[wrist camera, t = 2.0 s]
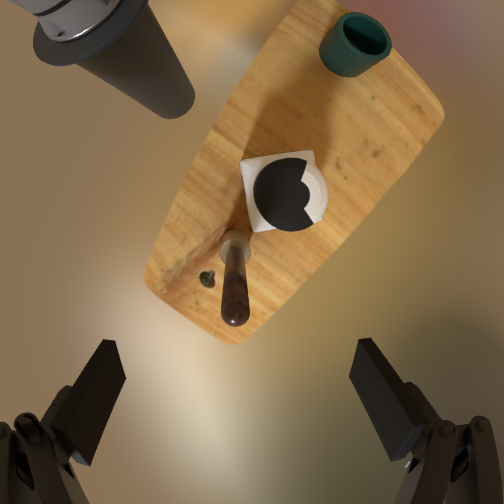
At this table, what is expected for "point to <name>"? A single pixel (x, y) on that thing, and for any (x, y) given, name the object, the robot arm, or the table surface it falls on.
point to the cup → (354, 45)
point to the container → (284, 191)
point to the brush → (235, 278)
